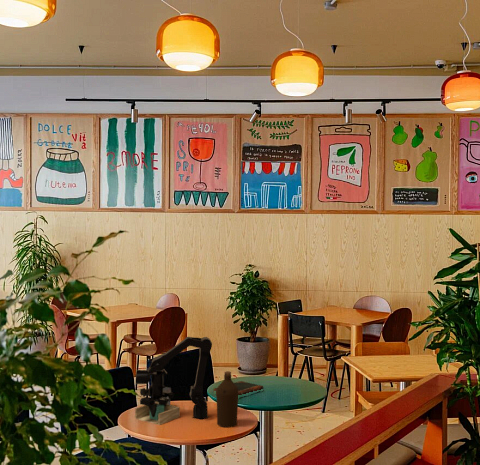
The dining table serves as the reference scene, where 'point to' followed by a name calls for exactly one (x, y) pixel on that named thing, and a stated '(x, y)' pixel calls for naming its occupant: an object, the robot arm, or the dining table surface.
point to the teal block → (157, 411)
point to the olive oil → (227, 402)
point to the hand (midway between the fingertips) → (156, 415)
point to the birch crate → (167, 415)
